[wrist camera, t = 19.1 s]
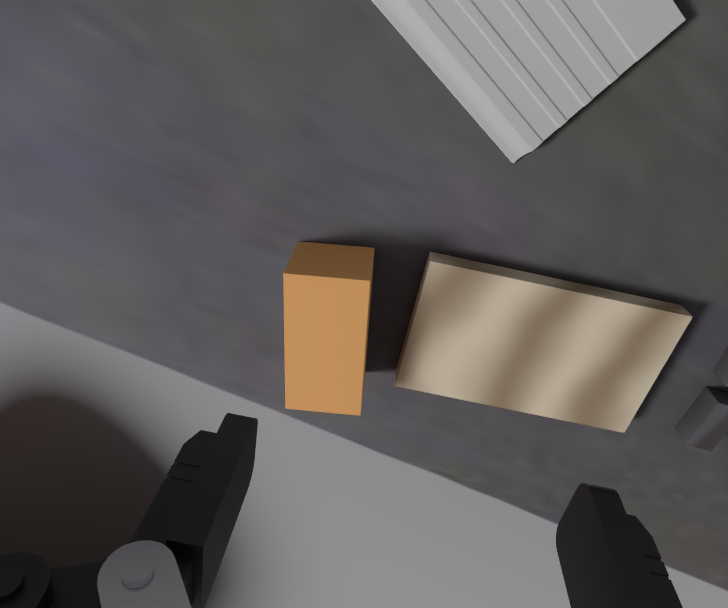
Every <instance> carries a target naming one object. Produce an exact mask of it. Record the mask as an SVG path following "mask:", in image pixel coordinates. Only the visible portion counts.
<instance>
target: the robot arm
mask: <svg viewBox="0 0 728 608" xmlns="http://www.w3.org/2000/svg"><path fill="white" fill-rule="evenodd" d="M257 424H258V421H257V419H256V418H251V417H246V416H241V415H236V414H231V413H227V414H226V416H225V417H224V420H223V422H222V424H221V426H220V428H219V430H218V432H217V433H213V432H207V431H202V430H201V431H199V432H198V433H197V434H195V435H194V436H193V437H192V438H191V439H189V440H188V441H187V442H186V443H185V444H184V445H183V446H182V448H181V450H180V452H179V454H178V455H177V458H176V459H175V461H174V464H173V465H172V466H171V469H170V470H169V472H168V474H167V476H166V479H165V480H164V481H163V483H162V485H161V487H160V489H159V491H158V492H157V494H156V496H155V498H154V500H153V501H152V503H151V505H150V507H149V509H148V510H147V512H146V514H145V516H144V518H143V520H142V521H141V523H140V525H139V527H138V529H137V531H136V532H135V534H134V536H133V537H132V539H131V540H130V541H129V542H128V543H127V544H126V545H124V546H123V547H121V548H119V549H117V550H116V551H115V552H114V553H112V554H111V555H110V556H109V557H108V558H106V559H103V560H101V561H97V562H94V563H89V564H83V565H74V566H66V567H57V568H49V566H48V565H47V563H46V562H45V560H44V559H43V558H41V557H40V556H38V555H36V554H33V553H28V552H17V553H10V554H6V555H3V556H0V608H205V605H206V603H207V600H208V597H209V594H210V592H211V589H212V586H213V584H214V581H215V578H216V575H217V573H218V570H219V567H220V564H221V562H222V559H223V556H224V553H225V551H226V548H227V545H228V542H229V539H230V537H231V534H232V531H233V529H234V526H235V523H236V520H237V517H238V515H239V512H240V509H241V506H242V503H243V501H244V498H245V495H246V493H247V490H248V487H249V484H250V480H251V476H252V472H253V467H254V459H255V448H256V437H257ZM556 547H557V552H558V556H559V560H560V564H561V569H562V573H563V577H564V580H565V585H566V589H567V593H568V597H569V601H570V605H571V608H683V607H682V605H681V603H680V600H679V598H678V596H677V593H676V591H675V589H674V586H673V584H672V582H671V580H669V579H668V576H669V575H668V573H667V571H666V568H665V565H664V563H663V562H661V556H660V554H659V552H658V549H657V547H656V545H655V542H654V540H653V538H652V536H651V535H650V533H649V532H648V531H647V530H646V528H645V527H644V526H643V525H642V524H641V522H640V521H639V520H638V519H637V517H636V516H633V515H628V514H626V511H625V509H624V506H623V504H622V501H621V499H620V496H619V494H618V493H617V491H616V490H614V489H610V488H605V487H600V486H595V485H590V484H584V483H582V484H580V485H579V486H578V488H577V490H576V491H575V493H574V495H573V497H572V499H571V501H570V503H569V505H568V507H567V508H566V510H565V512H564V514H563V516H562V518H561V520H560V522H559V524H558V527H557V533H556Z"/></svg>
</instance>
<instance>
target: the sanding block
mask: <svg viewBox="0 0 728 608" xmlns="http://www.w3.org/2000/svg"><path fill="white" fill-rule="evenodd" d="M374 250H375V248H372V247H360V246H348V245H336V244H324V243H312V242H300V241H298V243H297V245H296V247H295V250H294V252H293V254H292V256H291V258H290V260H289V262H288V265H287V267H286V269H285V271H284V273H283V279H284V343H285V407H286V409H296V410H307V411H317V412H328V413H339V414H349V415H360V414H361V406H362V397H363V388H364V380H365V370H366V357H367V344H368V330H369V317H370V304H371V290H372V277H373V264H374Z"/></svg>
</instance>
